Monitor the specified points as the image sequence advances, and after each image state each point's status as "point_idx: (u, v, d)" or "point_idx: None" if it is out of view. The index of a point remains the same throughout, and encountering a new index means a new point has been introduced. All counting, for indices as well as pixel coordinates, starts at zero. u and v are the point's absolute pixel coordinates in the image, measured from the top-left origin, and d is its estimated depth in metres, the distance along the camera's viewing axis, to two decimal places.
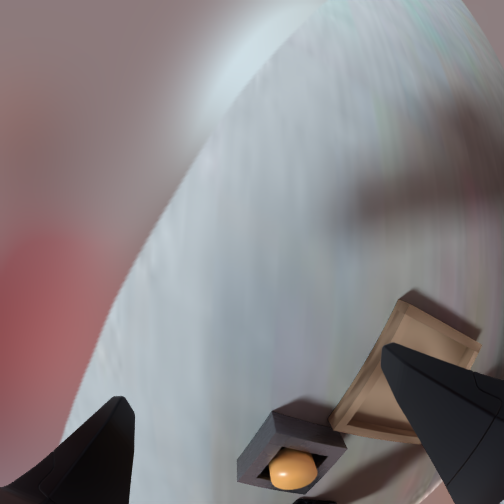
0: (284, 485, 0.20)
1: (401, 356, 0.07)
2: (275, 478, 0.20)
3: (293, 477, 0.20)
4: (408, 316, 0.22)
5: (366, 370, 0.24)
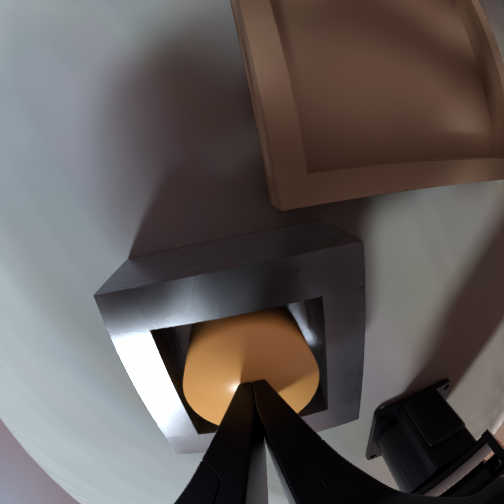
0: None
1: (257, 398, 0.07)
2: (208, 410, 0.08)
3: None
4: None
5: (240, 30, 0.08)
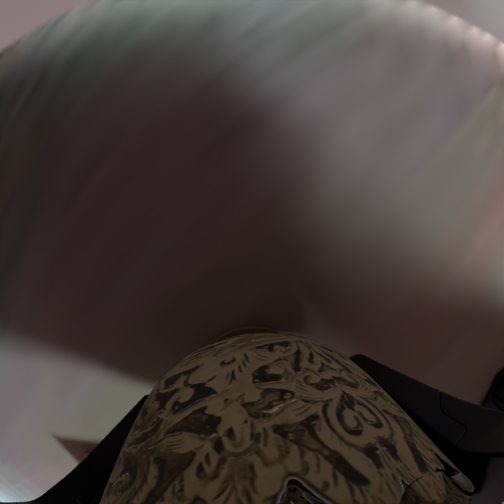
0: None
1: (365, 370, 0.07)
2: None
3: None
4: None
5: None
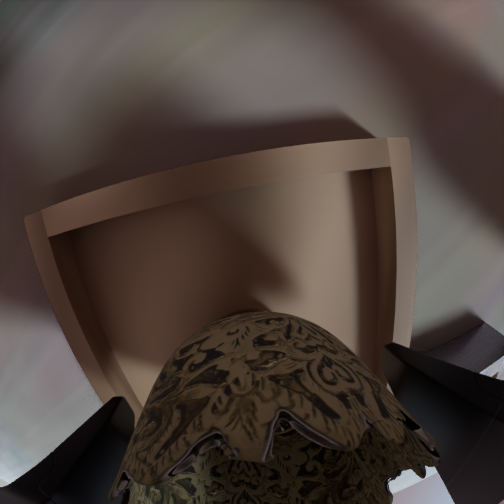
0: None
1: (401, 356, 0.07)
2: None
3: None
4: None
5: None
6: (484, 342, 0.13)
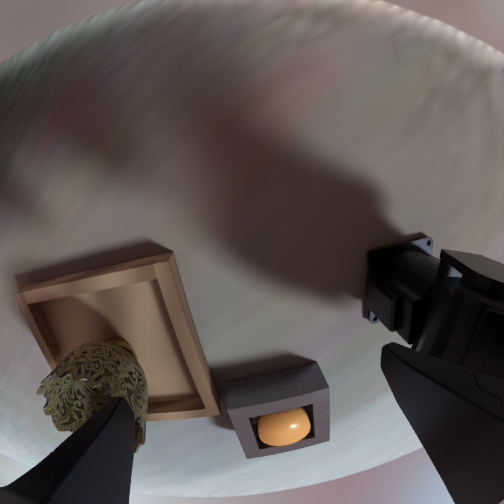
0: (302, 429, 0.20)
1: (401, 356, 0.07)
2: (294, 439, 0.21)
3: (285, 432, 0.20)
4: None
5: None
6: (301, 378, 0.21)
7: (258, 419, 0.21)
